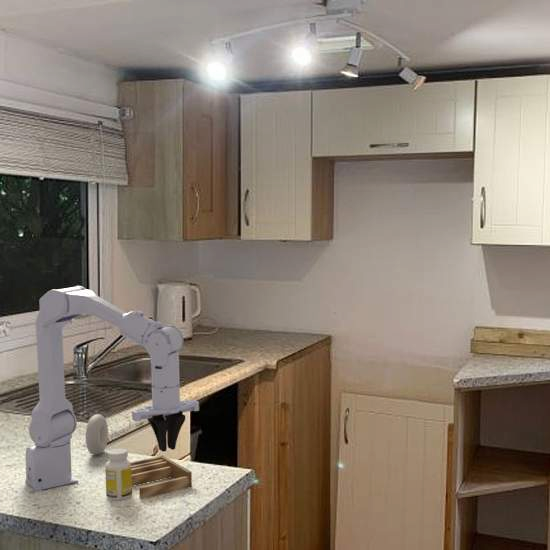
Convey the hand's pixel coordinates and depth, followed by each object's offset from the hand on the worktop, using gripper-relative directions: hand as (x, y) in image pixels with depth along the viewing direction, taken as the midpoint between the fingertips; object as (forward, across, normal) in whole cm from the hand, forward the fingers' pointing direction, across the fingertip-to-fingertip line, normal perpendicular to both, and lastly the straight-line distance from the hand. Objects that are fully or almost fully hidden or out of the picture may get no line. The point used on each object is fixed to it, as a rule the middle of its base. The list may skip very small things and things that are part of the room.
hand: (167, 449), depth 157 cm
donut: (+11, -1, +37) cm, 38 cm away
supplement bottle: (+11, -8, +7) cm, 15 cm away
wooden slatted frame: (+10, +1, +10) cm, 14 cm away
